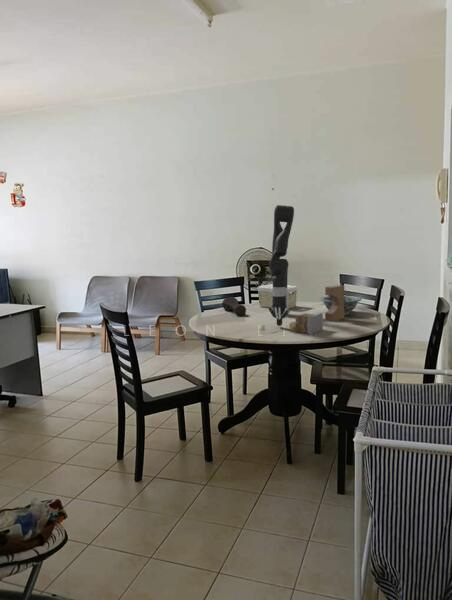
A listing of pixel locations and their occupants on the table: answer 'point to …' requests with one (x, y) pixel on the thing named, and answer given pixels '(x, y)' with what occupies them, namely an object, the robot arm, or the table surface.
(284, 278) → the robot arm
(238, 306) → the dark brown bone
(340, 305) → the decorative block
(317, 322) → the wall
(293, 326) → the tan wooden block
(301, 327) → the socket block
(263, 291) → the storage basket
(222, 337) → the table surface
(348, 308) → the bowl
